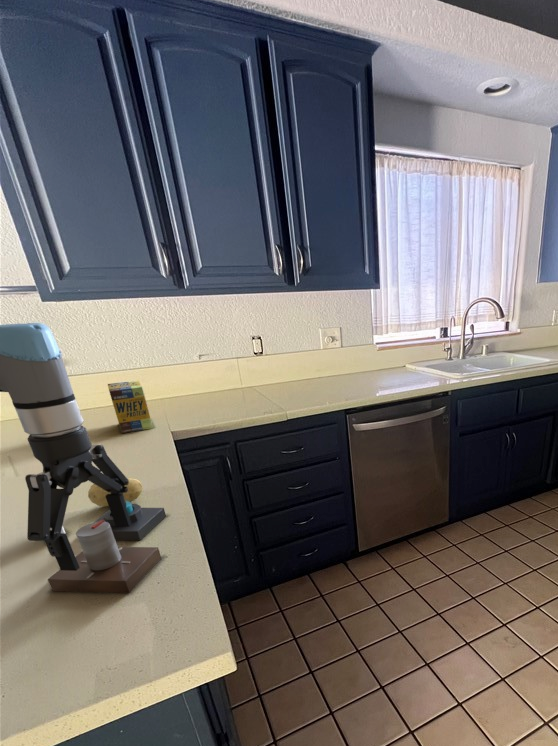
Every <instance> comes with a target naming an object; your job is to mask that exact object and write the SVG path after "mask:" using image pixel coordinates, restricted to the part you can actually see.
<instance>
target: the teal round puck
mask: <svg viewBox="0 0 558 746" xmlns="http://www.w3.org/2000/svg"><path fill="white" fill-rule="evenodd" d="M131 504H132V502H131V501H130V502H128V501H126V509H127V512H128V514H129V513H131V512H132V511H133V508H132V505H131Z"/></svg>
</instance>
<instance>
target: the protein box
mask: <svg viewBox="0 0 558 746" xmlns="http://www.w3.org/2000/svg"><path fill="white" fill-rule="evenodd" d="M107 387H108V392H109V396H110V399H111V402H112V406H113V409H114V413H115V416H116V419H117V422H118V425H119V429H120V432H121V434H127V433H132V432H138V431H143V430H150V429H154V425H153V422H152V418H151V415H150V414H151V413H150V411H149V410H150V409H149V407H148V403H147V399H146V396H145V395H146V394H145V392H144V389H143V386H142V384H141V383H140V381H139V380H132V381H130V380H129V381H121V382H112V383H107Z"/></svg>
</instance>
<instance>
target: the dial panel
mask: <svg viewBox="0 0 558 746" xmlns="http://www.w3.org/2000/svg"><path fill="white" fill-rule="evenodd" d="M118 549H119V552H120V555H121V560H120V561H119V562H118V563H117V564H116V565H114V566H112V567H110V568H107V569H104V570H98V571H95V570H91V569H90V568H89V566H88V563H87V561H86V558H85V556H84V553H83V551H82V550H81V551H80V552H79V553H78V554H77V555H75V557H76V560H77V562H78V564H79V567H80V568H79V569H78V570H77V571H67V570H60V569H58V570H57V571H56V572H55V573H53V574H52V575H51V576H49V577H48V578H47V582H48V585H49V586H50V588H51V590H52V592H79V593H80V592H83V593H85V592H86V593H88V592H89V593H126V594H127V593H129V594H130V593H131V592H132V591H133V590H134V588H136V587H137V585H138V584H139V583H140V582H142V580H143V579H144V577H146V576H147V574H148V573H149V572H151V570H152V569H153V568H154V567H155V566H156V565H157V564H158V563H159V561H161V560H162V555H161V553H160V549H159V547H158V546H154V547H153V546H118Z"/></svg>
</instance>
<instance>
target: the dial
mask: <svg viewBox="0 0 558 746" xmlns="http://www.w3.org/2000/svg"><path fill="white" fill-rule="evenodd" d="M93 522H94V521H93ZM93 522H91V523H88V524H85V525H83V526H81V527H80V528H79V529H77V530H76V532H75V535H76V539H77V540H78V543H79V545H80V548H81V552H82V551H83V553H84V556H85V558H86V561H87V563H88V566H89V568H90V569H91V570H95V571H98V570H104V569H107V568H110V567H112V566H114V565H116V564H117V563H118V562H119V561H120V560H121V555H120V552H119V549H118V547H119V546H118V544H117V540H115V538H114V535H113V532H112V529H111V527H110V524H109V523H108V522H104V520H100V521H99V522H94V523H93Z"/></svg>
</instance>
